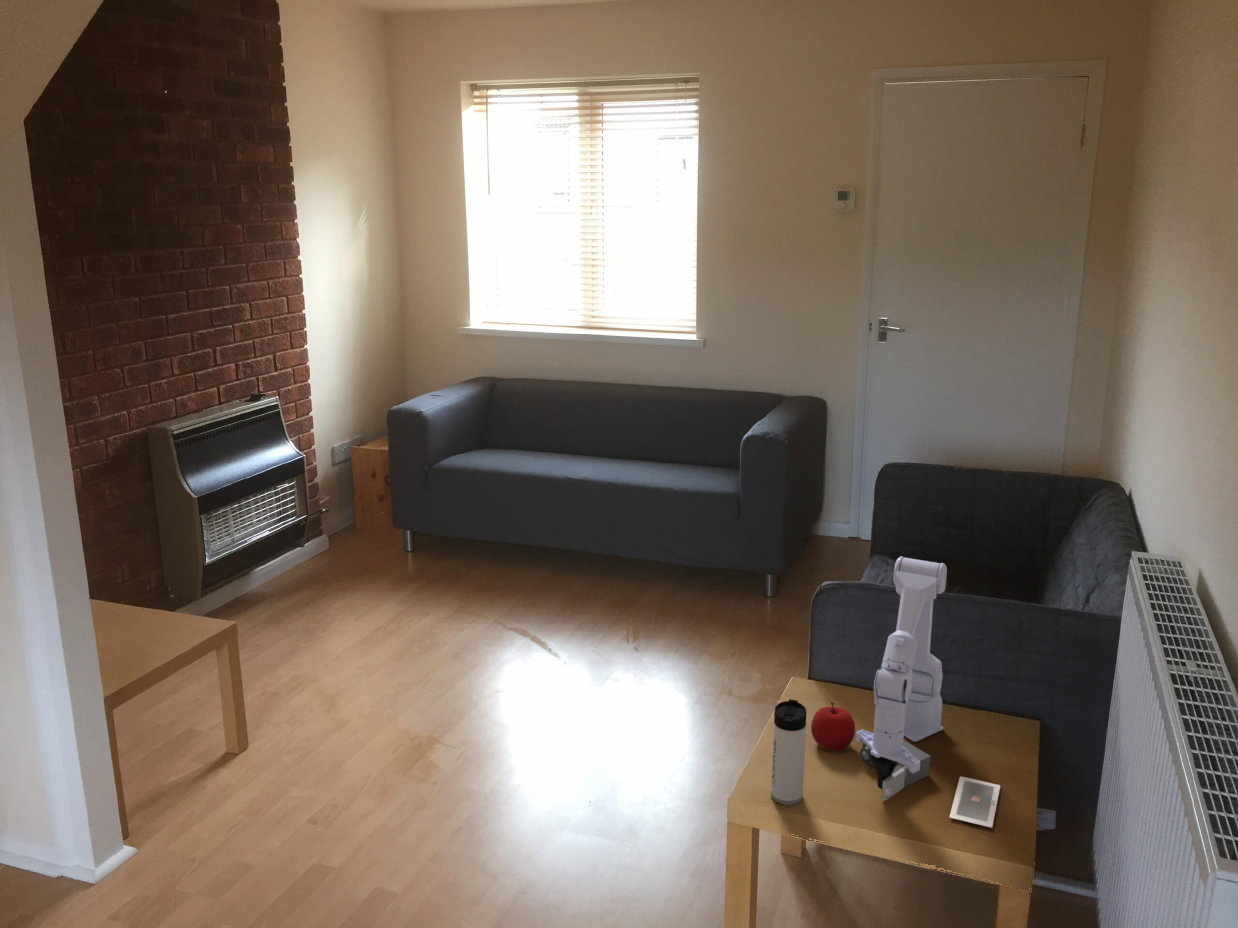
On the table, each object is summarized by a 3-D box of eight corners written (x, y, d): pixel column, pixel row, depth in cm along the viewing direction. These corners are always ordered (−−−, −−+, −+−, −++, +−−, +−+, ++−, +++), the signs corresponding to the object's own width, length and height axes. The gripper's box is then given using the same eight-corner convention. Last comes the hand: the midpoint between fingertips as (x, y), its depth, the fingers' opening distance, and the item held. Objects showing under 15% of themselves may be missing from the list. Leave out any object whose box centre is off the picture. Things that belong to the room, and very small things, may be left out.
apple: (808, 753, 225) (811, 712, 222) (811, 731, 233) (813, 691, 230) (853, 759, 223) (855, 717, 220) (854, 736, 231) (857, 696, 228)
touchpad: (948, 821, 203) (949, 812, 202) (959, 780, 216) (960, 771, 215) (991, 832, 200) (992, 822, 199) (999, 789, 213) (1000, 780, 212)
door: (902, 785, 214) (904, 765, 212) (909, 788, 212) (911, 769, 211) (880, 800, 209) (882, 780, 207) (887, 804, 208) (889, 784, 206)
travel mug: (805, 789, 212) (809, 701, 207) (799, 808, 206) (804, 718, 201) (774, 783, 214) (778, 696, 209) (767, 802, 208) (771, 712, 203)
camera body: (885, 748, 226) (886, 727, 225) (928, 775, 217) (930, 753, 215) (855, 761, 222) (857, 739, 220) (899, 789, 212) (901, 766, 211)
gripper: (847, 716, 209) (842, 776, 213) (905, 749, 198) (899, 811, 202) (871, 706, 213) (866, 765, 217) (929, 737, 202) (923, 799, 205)
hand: (884, 786), depth 209 cm, fingers closed, pressing on door
